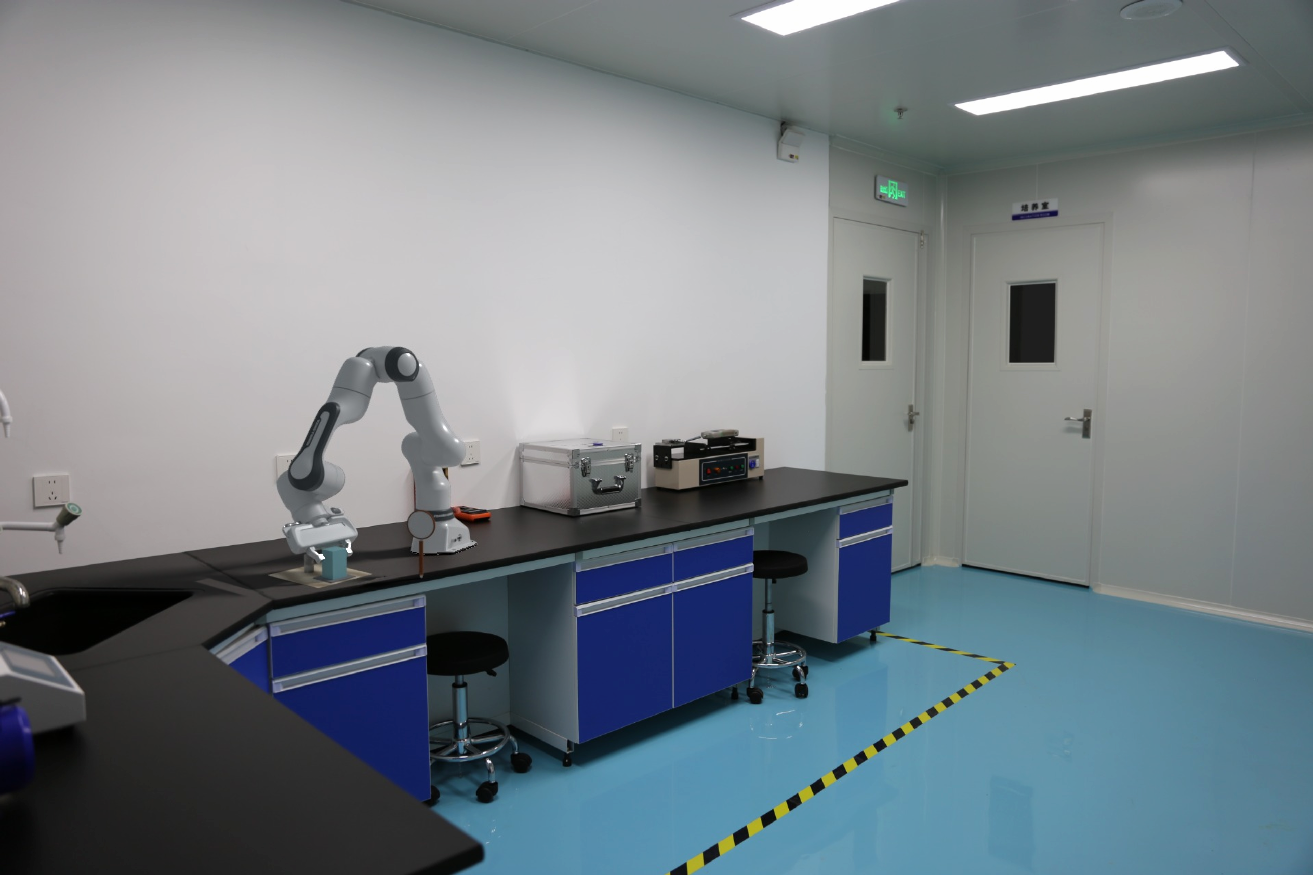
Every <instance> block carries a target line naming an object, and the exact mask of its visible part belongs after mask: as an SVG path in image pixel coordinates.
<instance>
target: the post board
mask: <svg viewBox="0 0 1313 875" xmlns="http://www.w3.org/2000/svg"><path fill="white" fill-rule="evenodd" d="M347 574H349V575H353V576H356V577H354V578H350V579H347V580H343V581H339V582H335V583H328V582H324V581H320V580H316V579H313V577H317V576H321V575H322V563H317V562H316V563H315V559H313V558H312V557H310V556H309V555H308V554H307V553H303V566H301V567H296V568H292V569H288V570H284V571H280V572H275V573H272V574H268V576H270V577H274V578H277V579H281V580H285V581H288V582H293V583H297V584H301V585H304V586H309V587H312V588H316V589H320V588H324V587H328V586H332V585H337V584H340V583H344V582H347V581H351V580H356V579H359V578H363V577H366V576H371V575H372V573H371V572H366V571H361V570H357V569H353V568H349V567H347Z"/></svg>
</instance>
